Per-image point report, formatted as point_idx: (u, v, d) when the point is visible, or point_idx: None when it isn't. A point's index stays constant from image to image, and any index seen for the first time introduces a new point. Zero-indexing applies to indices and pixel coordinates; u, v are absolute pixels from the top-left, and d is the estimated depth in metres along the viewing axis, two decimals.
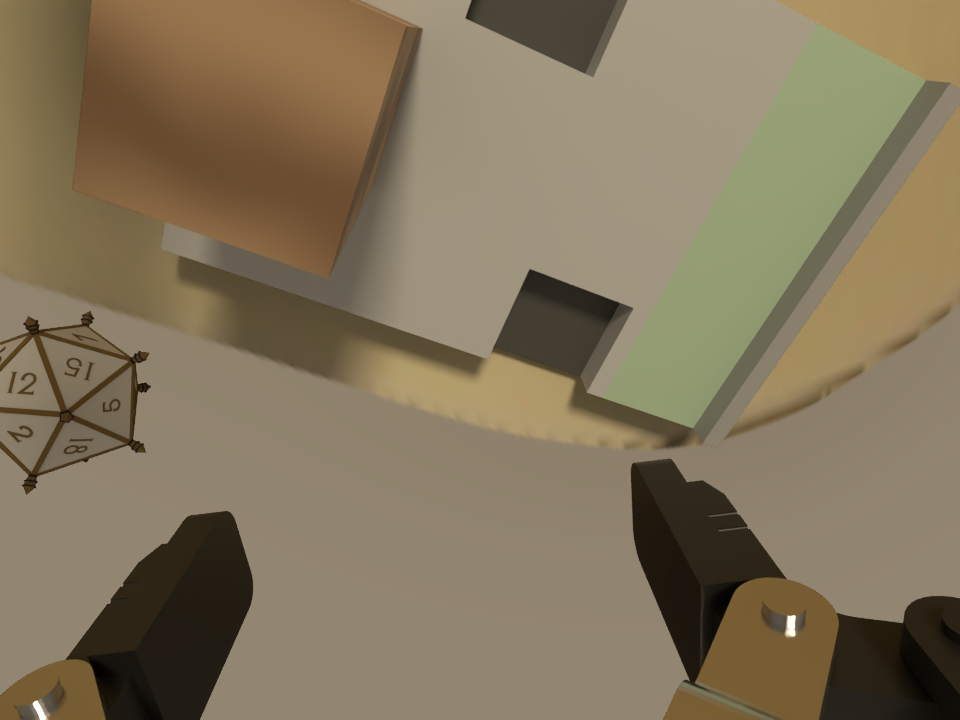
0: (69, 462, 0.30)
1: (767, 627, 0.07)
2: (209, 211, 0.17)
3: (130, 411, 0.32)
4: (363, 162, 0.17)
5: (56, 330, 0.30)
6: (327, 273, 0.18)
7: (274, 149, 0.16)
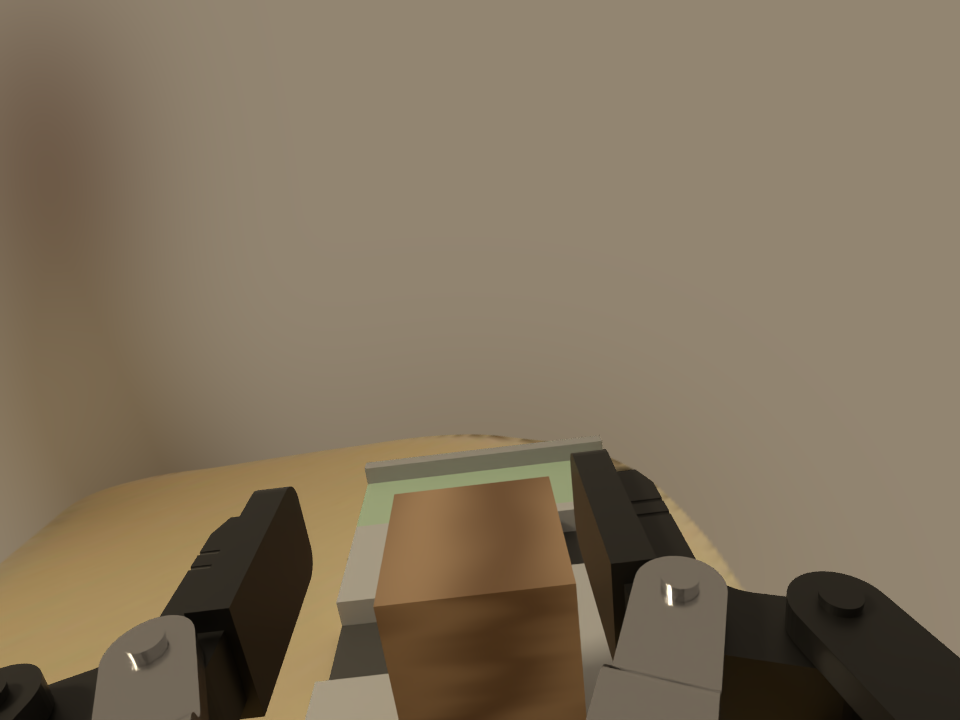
0: None
1: (662, 599, 0.08)
2: (542, 525, 0.24)
3: None
4: (471, 487, 0.28)
5: None
6: (546, 477, 0.27)
7: (484, 513, 0.25)
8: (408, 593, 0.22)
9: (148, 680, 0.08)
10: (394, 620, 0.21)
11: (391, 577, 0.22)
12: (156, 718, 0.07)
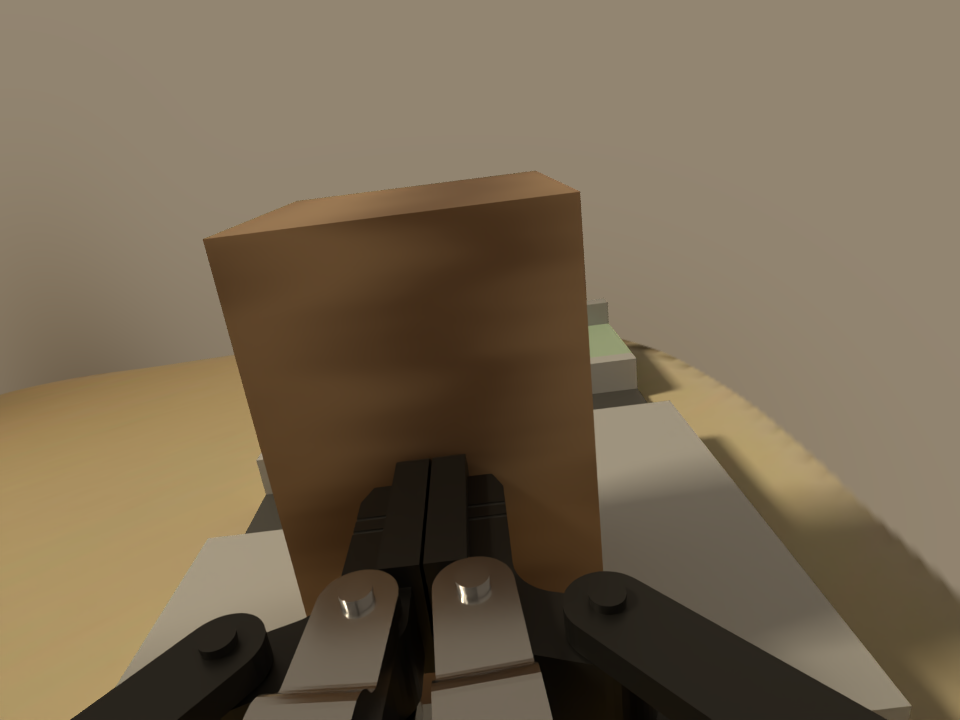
0: None
1: (450, 597, 0.09)
2: (522, 182, 0.15)
3: None
4: None
5: None
6: (531, 171, 0.18)
7: (429, 190, 0.16)
8: (272, 227, 0.12)
9: (347, 631, 0.08)
10: (244, 271, 0.12)
11: (253, 225, 0.13)
12: (341, 674, 0.08)
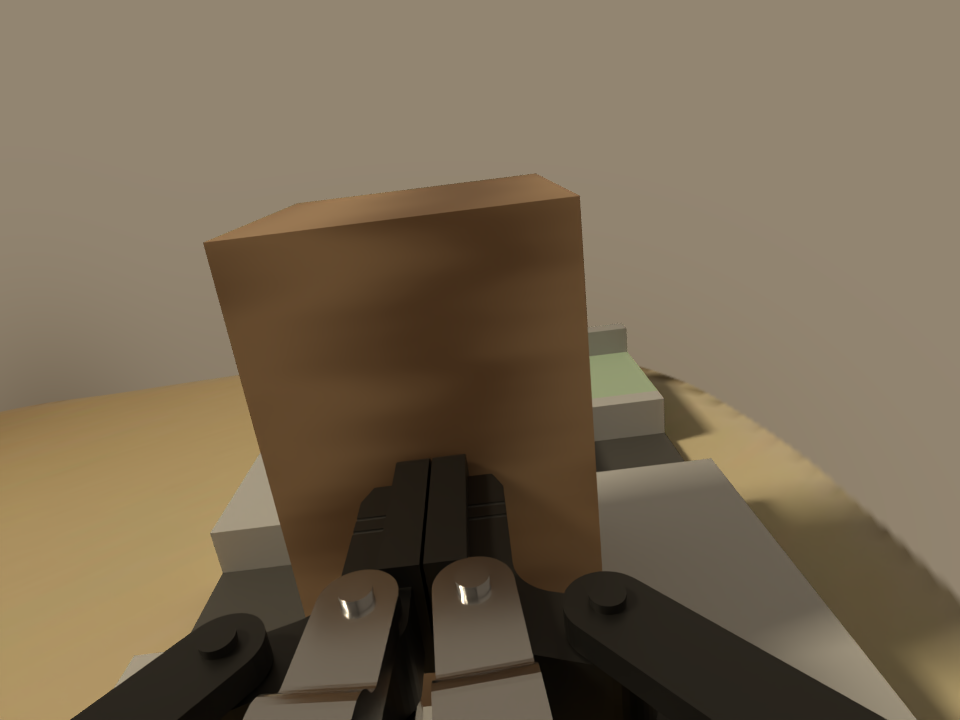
0: None
1: (450, 597, 0.09)
2: (522, 186, 0.15)
3: None
4: None
5: None
6: (531, 174, 0.18)
7: (430, 193, 0.16)
8: (273, 231, 0.12)
9: (348, 630, 0.08)
10: (245, 274, 0.12)
11: (253, 228, 0.13)
12: (341, 674, 0.08)
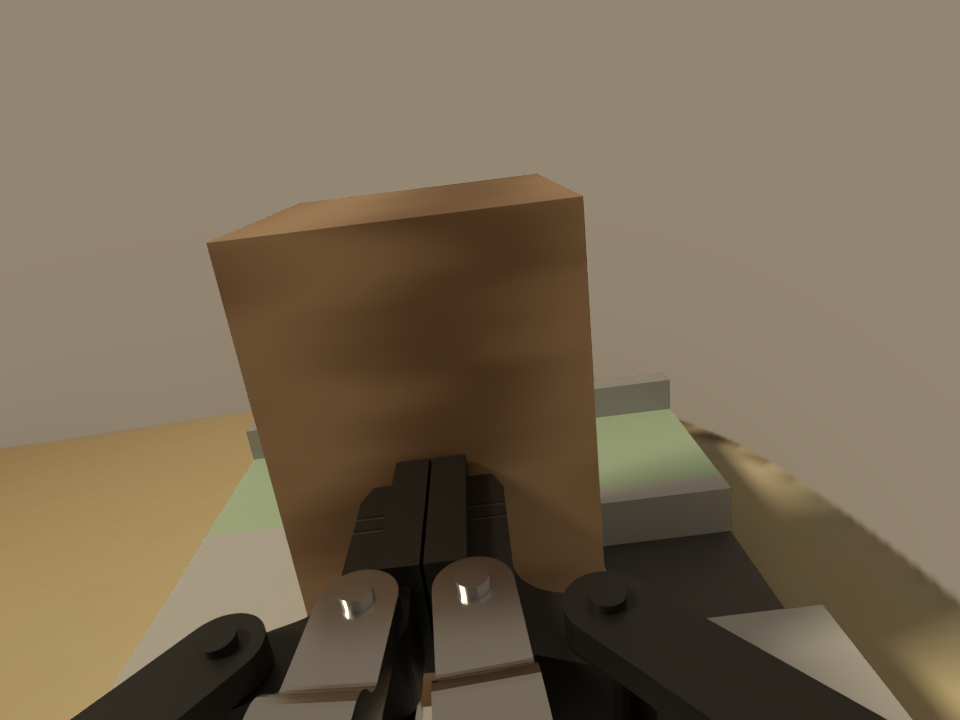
0: None
1: (450, 597, 0.09)
2: (524, 186, 0.15)
3: None
4: None
5: None
6: (532, 174, 0.18)
7: (431, 193, 0.16)
8: (276, 231, 0.12)
9: (348, 631, 0.08)
10: (247, 275, 0.12)
11: (256, 229, 0.13)
12: (341, 674, 0.08)
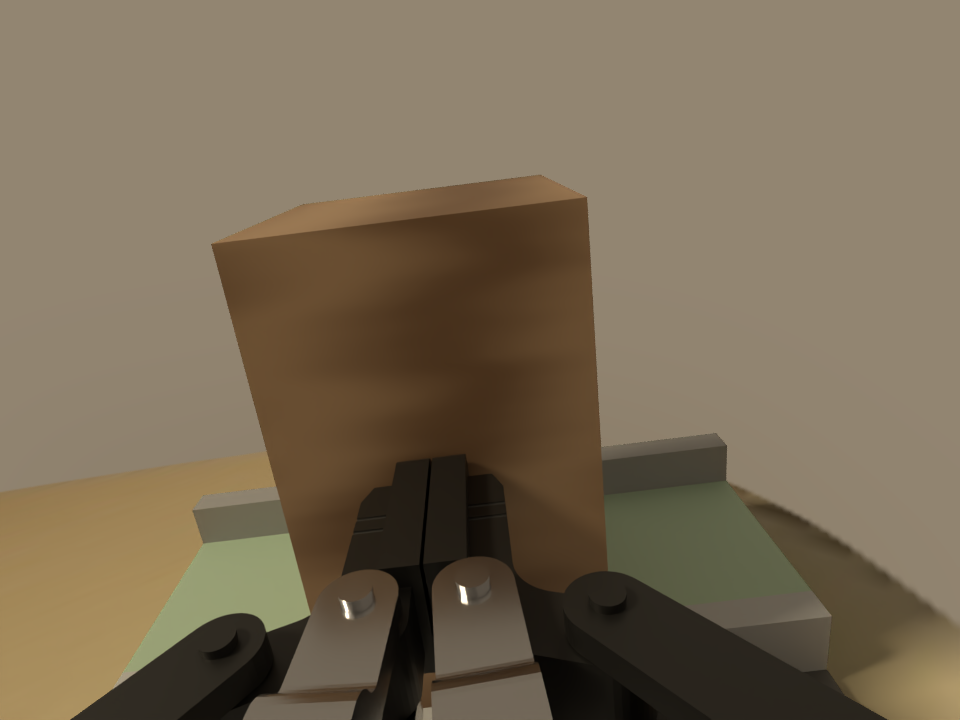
0: None
1: (450, 597, 0.09)
2: (527, 187, 0.15)
3: None
4: None
5: None
6: (535, 175, 0.18)
7: (435, 194, 0.16)
8: (280, 232, 0.12)
9: (347, 630, 0.08)
10: (252, 275, 0.12)
11: (260, 229, 0.13)
12: (341, 674, 0.08)
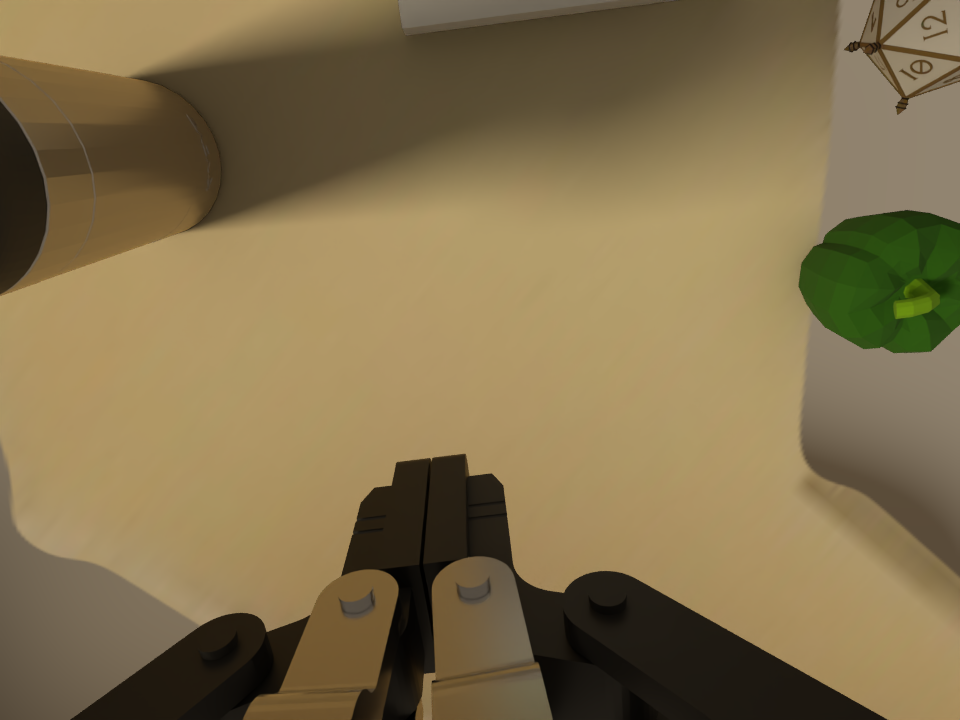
0: None
1: (450, 597, 0.09)
2: None
3: None
4: None
5: (871, 43, 0.34)
6: None
7: None
8: None
9: (347, 631, 0.08)
10: None
11: None
12: (341, 674, 0.08)
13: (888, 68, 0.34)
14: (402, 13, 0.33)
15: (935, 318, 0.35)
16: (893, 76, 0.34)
